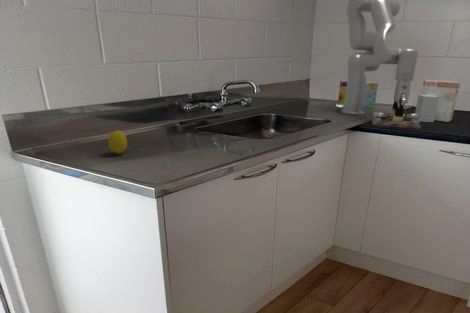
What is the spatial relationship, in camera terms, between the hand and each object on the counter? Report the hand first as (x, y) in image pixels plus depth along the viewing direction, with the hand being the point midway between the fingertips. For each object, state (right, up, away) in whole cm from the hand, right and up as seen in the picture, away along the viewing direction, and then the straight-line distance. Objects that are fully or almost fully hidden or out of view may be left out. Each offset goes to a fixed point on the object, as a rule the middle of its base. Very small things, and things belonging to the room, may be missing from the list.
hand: (397, 114), depth 159 cm
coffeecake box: (+26, -1, +16) cm, 31 cm away
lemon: (-113, -19, -51) cm, 126 cm away
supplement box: (+19, -2, +13) cm, 23 cm away
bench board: (0, -5, +1) cm, 5 cm away
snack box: (-2, +10, +48) cm, 49 cm away
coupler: (0, -4, +1) cm, 4 cm away
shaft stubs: (0, -5, +1) cm, 5 cm away
